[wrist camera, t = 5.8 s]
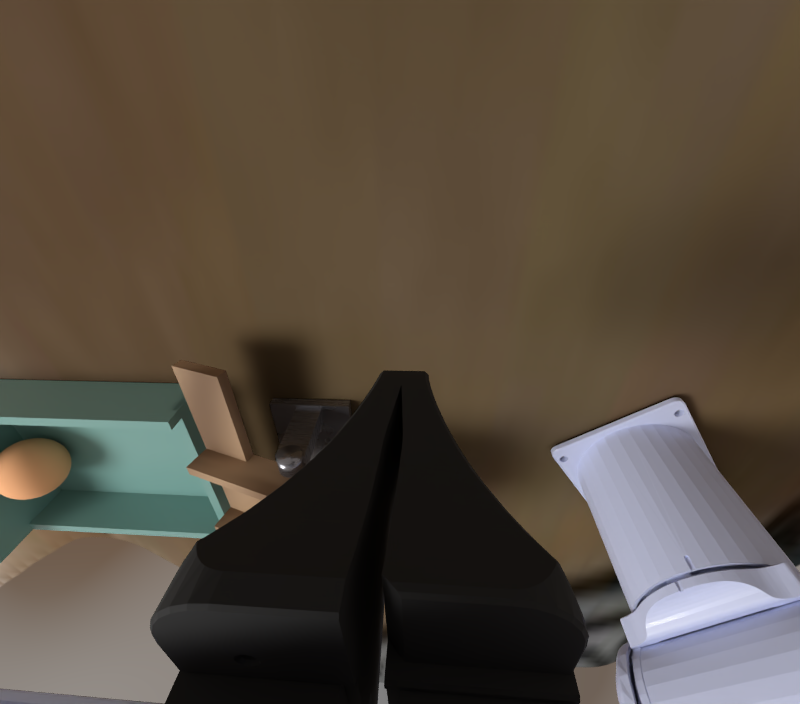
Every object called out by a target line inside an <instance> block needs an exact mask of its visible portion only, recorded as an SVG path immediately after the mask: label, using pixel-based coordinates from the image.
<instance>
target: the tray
mask: <svg viewBox="0 0 800 704" xmlns="http://www.w3.org/2000/svg"><path fill="white" fill-rule="evenodd" d="M31 438H46V439H51V440H54V441H56V442H58V443H60V444H62V445H63V446H64V447H65V448H66V449H67V450H68V452H69V453H70V456H71V469H70V472H69V474H68V476H67V478H66V479H65V480H64V482H63V483H62V484H61V485H60V486H59V487H57V488H56V489H55V490H53V491H51V492H50V493H48V494H46V495H43V496H41V497H37V498H33V499H26V500H18V499H12V498H8V497H5V496H3V495H1V494H0V563H1V562H2V561H3V560H4V559H5V558H6V557H7V556H8V555H9V554H10V553H11V552H12V551H13V550H14V549H15V548H16V546H17V545H18V544H19V543H20V542H21V541H22V540H23V539H24V538H25V537H26V536H27V535H28V534H29V533H30V532H31V531H32V530H33V529H41V530H59V531H78V532H97V533H115V534H134V535H152V536H171V537H189V538H204V537H206V536H207V535H209V534H210V533H212V532H214V531H215V530H216V529H215V527H214V526H215V525H216V524H217V522H218V521H219V520H220V519H221V518H222V517H223V515H224V514H225V513H226V512H227V511H228V510H229V508H230V507H231V506H230V504H229V502H228V499H227V497H226V495H225V492H224V490H223V487H222V486H221V485H218V484H215V483H212V482H210V481H207V480H204V479H201V478H199V477H196V476H193V475H190V474H189V472H188V470H187V468H186V467H187V466H188V465H189V464H190V463H191V462H192V461H193V460H194V459H195V458H197V457H198V456H199V455H200V454H201V453H202V452H203V451H204V450H205V449H206V447H205V444H204V442H203V440H202V437H201V435H200V432H199V430H198V428H197V425H196V423H195V421H194V418H193V416H192V413H191V411H190V409H189V406H188V404H187V401H186V399H185V397H184V394H183V392H182V390H181V387H180V385H179V384H176V383H134V382H93V381H51V380H9V379H0V453H1V452H2V451H3V450H4V449H6V448H7V447H9V446H11V445H13V444H14V443H17V442H19V441H22V440H26V439H31Z"/></svg>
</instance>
